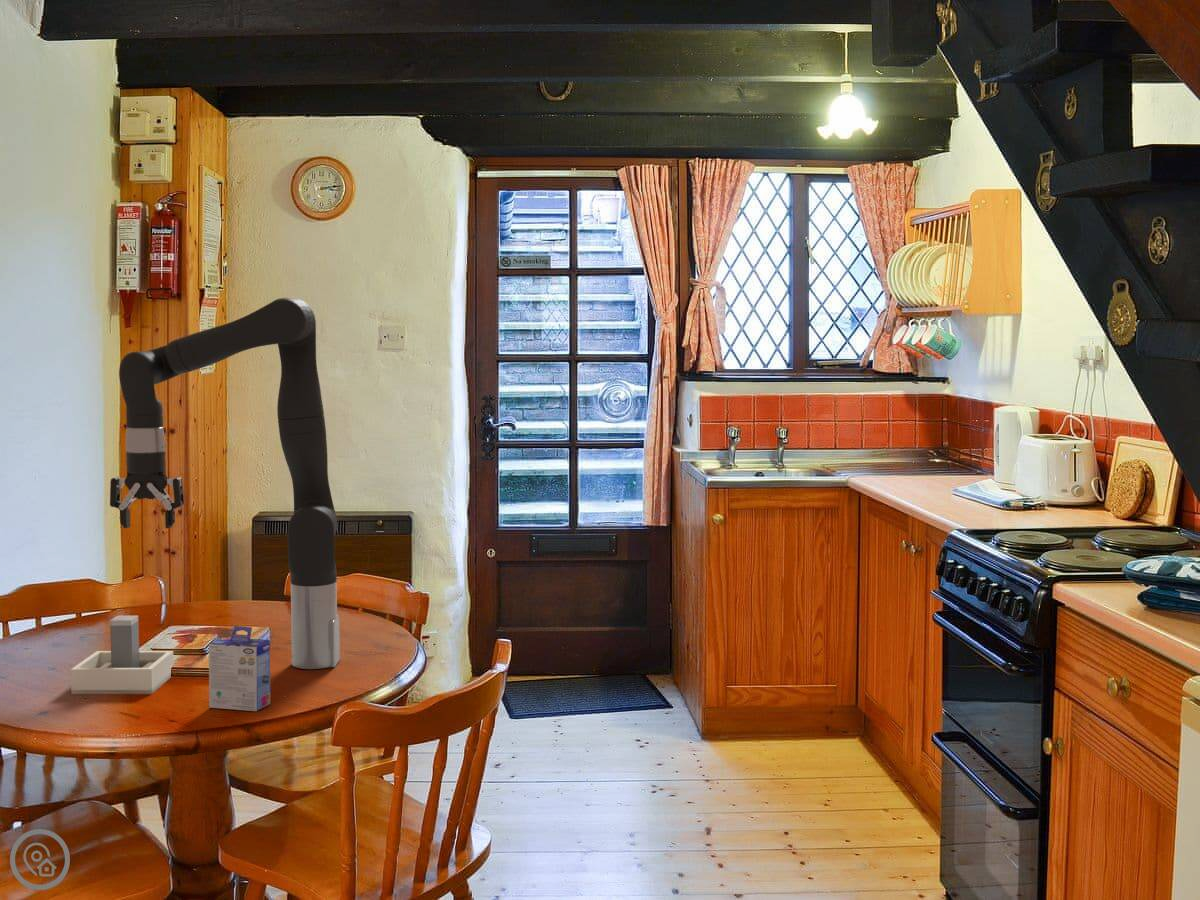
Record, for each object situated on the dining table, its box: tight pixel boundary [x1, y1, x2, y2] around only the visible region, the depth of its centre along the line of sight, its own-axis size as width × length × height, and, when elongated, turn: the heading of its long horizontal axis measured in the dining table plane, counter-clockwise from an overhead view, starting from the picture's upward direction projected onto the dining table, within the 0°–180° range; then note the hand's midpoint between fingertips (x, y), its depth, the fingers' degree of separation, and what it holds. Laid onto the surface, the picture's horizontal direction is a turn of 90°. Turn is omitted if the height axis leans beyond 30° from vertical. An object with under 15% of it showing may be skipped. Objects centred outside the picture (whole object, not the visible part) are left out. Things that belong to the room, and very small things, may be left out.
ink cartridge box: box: [208, 625, 272, 712], centre depth 219 cm, size 10×6×14 cm, turn 78°
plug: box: [109, 615, 140, 668], centre depth 233 cm, size 4×4×12 cm
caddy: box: [70, 650, 175, 695], centre depth 233 cm, size 15×13×5 cm
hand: (148, 527), depth 246 cm, fingers open, 8 cm apart
